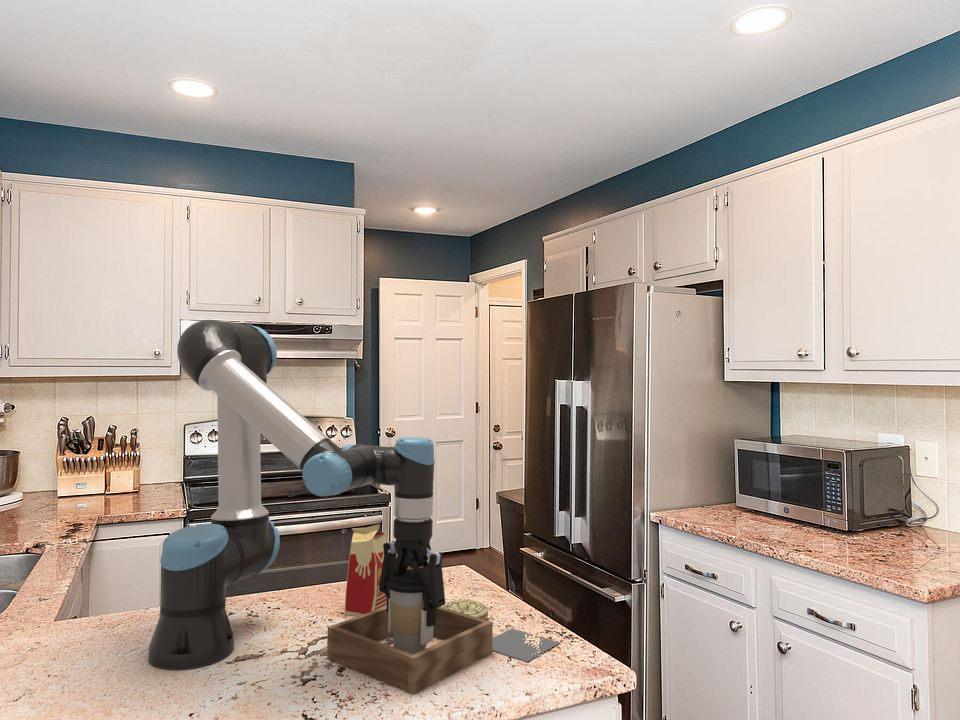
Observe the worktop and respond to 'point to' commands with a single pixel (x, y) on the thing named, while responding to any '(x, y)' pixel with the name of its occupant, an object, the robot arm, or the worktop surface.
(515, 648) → the mat
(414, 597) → the coffee cup
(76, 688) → the worktop surface
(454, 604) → the decorated donut
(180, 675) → the worktop surface
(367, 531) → the milk carton
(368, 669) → the frame
